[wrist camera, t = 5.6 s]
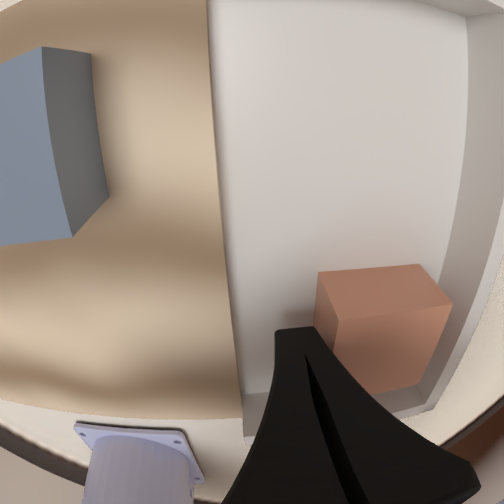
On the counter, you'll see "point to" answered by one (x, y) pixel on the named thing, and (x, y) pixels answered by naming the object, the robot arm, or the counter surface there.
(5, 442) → the counter surface
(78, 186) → the slate tile
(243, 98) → the box
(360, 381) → the terracotta block
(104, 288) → the oak board
